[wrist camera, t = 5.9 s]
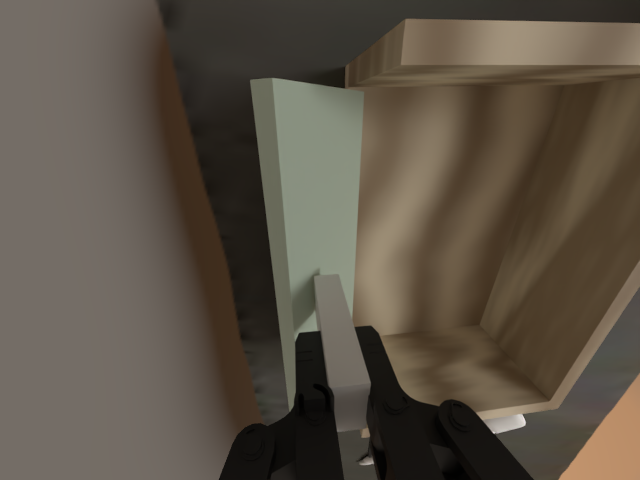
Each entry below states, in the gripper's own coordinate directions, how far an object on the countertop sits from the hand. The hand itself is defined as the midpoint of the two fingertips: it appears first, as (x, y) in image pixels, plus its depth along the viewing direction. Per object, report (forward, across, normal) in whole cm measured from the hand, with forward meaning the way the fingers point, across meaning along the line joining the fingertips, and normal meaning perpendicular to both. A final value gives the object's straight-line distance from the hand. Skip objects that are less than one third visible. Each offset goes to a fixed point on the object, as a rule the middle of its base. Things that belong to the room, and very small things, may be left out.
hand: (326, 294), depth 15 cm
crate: (+7, +10, 0) cm, 12 cm away
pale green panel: (+6, +2, 0) cm, 6 cm away
